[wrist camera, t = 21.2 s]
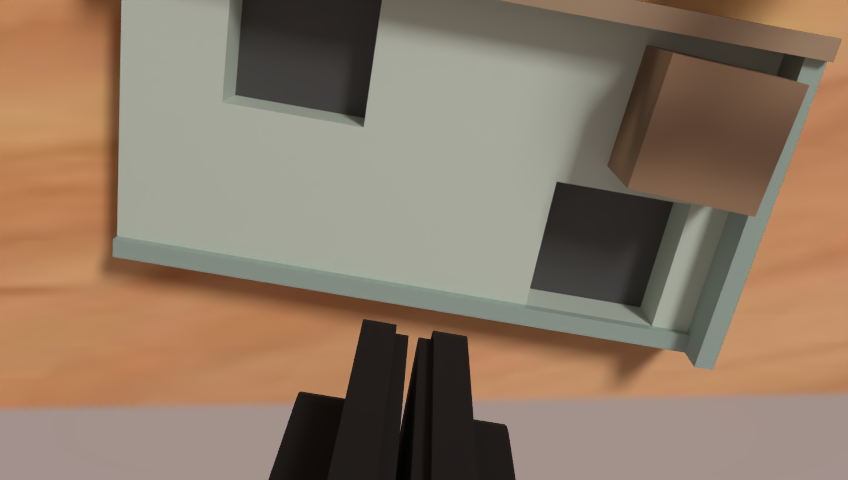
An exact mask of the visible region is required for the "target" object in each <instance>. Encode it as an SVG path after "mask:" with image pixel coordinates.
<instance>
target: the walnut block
mask: <svg viewBox="0 0 848 480" xmlns="http://www.w3.org/2000/svg"><path fill="white" fill-rule="evenodd" d="M808 88H809V85H807V84H803V83H800V82H797V81H793V80H790V79H786V78H783V77H779V76H776V75H772V74H769V73H765V72H761V71H756V70H752V69H748V68H744V67H739V66H735V65H731V64H727V63H722V62H718V61H714V60H710V59H705V58H701V57H697V56H693V55H688V54H684V53H680V52H676V51H671V50H667V49H663V48H659V47H654V46H650V45H646V48H645V51H644V54H643V57H642V60H641V63H640V66H639V69H638V73H637V76H636V79H635V82H634V85H633V88H632V91H631V94H630V97H629V100H628V103H627V107H626V110H625V113H624V116H623V119H622V122H621V125H620V128H619V131H618V134H617V137H616V141H615V144H614V147H613V150H612V153H611V156H610V159H609V162H608V165H607V166H608V167H609V168H610V170H611V171H612V172H613V173H614V174H615V175H616V176H617V177H618V179H619V180H620V181H621V182H622V183H623V184H624V185H625V186H626V188H627V189H631V190H636V191H640V192H645V193H649V194H654V195H658V196H663V197H667V198H672V199H676V200H681V201H685V202H690V203H694V204H699V205H703V206H708V207H712V208H717V209H721V210H726V211H730V212H735V213H739V214H744V215H748V216H753V217H755V216H756V214H757V211H758V209H759V207H760V204H761V202H762V199H763V197H764V194H765V192H766V190H767V187H768V185H769V182H770V180H771V177H772V175H773V173H774V170H775V168H776V165H777V163H778V161H779V158H780V156H781V153H782V151H783V148H784V146H785V144H786V141H787V139H788V136H789V134H790V131H791V129H792V127H793V124H794V122H795V119H796V117H797V114H798V112H799V110H800V107H801V105H802V102H803V100H804V97H805V95H806V93H807V90H808Z"/></svg>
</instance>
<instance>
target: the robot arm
mask: <svg viewBox="0 0 848 480" xmlns="http://www.w3.org/2000/svg"><path fill="white" fill-rule="evenodd" d="M396 326H397V325H395V324H389V323H383V322H377V321H371V320H365V319H363V323H362V327H361V332H360V336H359V341H358V345H357V349H356V354H355V358H354V363H353V367H352V372H351V376H350V380H349V385H348V389H347V394H346V398H345V399H343V398H337V397H331V396H325V395H319V394H312V393H306V392H299V393H298V396H297V398H296V401H295V404H294V407H293V410H292V413H291V416H290V419H289V421H288V425H287V428H286V430H285V433H284V436H283V439H282V442H281V445H280V448H279V451H278V454H277V457H276V460H275V462H274V465H273V468H272V471H271V474H270V477H269V480H515V473H514V466H513V460H512V453H511V446H510V440H509V433H508V429H507V426H506V425H505V424H499V423H493V422H486V421H479V420H474V419H473V407H472V394H471V380H470V367H469V354H468V340H467V336H462V335H456V334H450V333H444V332H438V331H433V333H432V336H431V339H425V338H419V339H418V342H417V347H416V352H415V357H414V363H413V368H412V373H411V378H410V383H409V388H408V394H407V399H406V404H405V409H404V414H403V419H402V425H401V414H402V403H403V391H404V380H405V369H406V358H407V347H408V336H407V335H401V334H396ZM400 425H401V430H400Z"/></svg>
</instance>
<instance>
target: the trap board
mask: <svg viewBox="0 0 848 480" xmlns="http://www.w3.org/2000/svg"><path fill="white" fill-rule="evenodd" d="M841 40H842V39H839V38H834V37H829V36H823V35H818V34H813V33H807V32H802V31H797V30H791V29H786V28H781V27H775V26H770V25H765V24H759V23H754V22H749V21H743V20H738V19H733V18H727V17H722V16H717V15H711V14H706V13H701V12H695V11H690V10H685V9H679V8H674V7H669V6H663V5H658V4H653V3H647V2H642V1H637V0H122V1H121V54H120V107H119V160H118V212H117V236H116V237H115V238H114V239H113V257H116V258H122V259H128V260H134V261H140V262H146V263H152V264H158V265H164V266H170V267H176V268H182V269H188V270H194V271H200V272H206V273H212V274H218V275H224V276H230V277H236V278H242V279H248V280H254V281H260V282H266V283H272V284H278V285H284V286H290V287H296V288H302V289H308V290H314V291H320V292H326V293H332V294H338V295H344V296H350V297H356V298H362V299H368V300H374V301H380V302H386V303H392V304H398V305H404V306H410V307H416V308H422V309H428V310H434V311H440V312H446V313H452V314H458V315H464V316H470V317H476V318H482V319H488V320H494V321H500V322H506V323H511V324H517V325H523V326H529V327H535V328H541V329H547V330H553V331H559V332H565V333H571V334H577V335H583V336H589V337H595V338H601V339H607V340H613V341H619V342H625V343H631V344H637V345H643V346H649V347H655V348H661V349H667V350H673V351H679V352H685V353H686V355H687V356H688V358H689V359H690V361H691V363H692V364H693V366H694V367H698V368H704V369H710V370H713V368H714V365H715V363H716V360H717V357H718V355H719V352H720V349H721V347H722V344H723V341H724V338H725V336H726V333H727V330H728V328H729V325H730V322H731V320H732V317H733V314H734V312H735V309H736V306H737V303H738V301H739V298H740V295H741V293H742V290H743V287H744V285H745V282H746V279H747V276H748V274H749V271H750V268H751V266H752V263H753V260H754V258H755V255H756V252H757V249H758V247H759V244H760V241H761V239H762V236H763V233H764V231H765V228H766V225H767V222H768V220H769V217H770V214H771V212H772V209H773V206H774V204H775V201H776V198H777V195H778V193H779V190H780V187H781V185H782V182H783V179H784V177H785V174H786V171H787V169H788V166H789V163H790V160H791V158H792V155H793V152H794V150H795V147H796V144H797V142H798V139H799V136H800V133H801V131H802V128H803V125H804V123H805V120H806V117H807V115H808V112H809V109H810V106H811V104H812V101H813V98H814V96H815V93H816V90H817V88H818V85H819V82H820V79H821V77H822V74H823V71H824V69H825V66H826V63H827V61H828V62H834V59H835V56H836V54H837V51H838V48H839V46H840V43H841ZM646 45H650V46H654V47H659V48H663V49H667V50H671V51H676V52H680V53H684V54H688V55H693V56H697V57H701V58H705V59H710V60H714V61H718V62H722V63H727V64H731V65H735V66H739V67H744V68H748V69H752V70H756V71H761V72H765V73H769V74H772V75H776V76H779V77H783V78H786V79H790V80H793V81H797V82H800V83H803V84H807V85H809V88H808V90H807V93H806V95H805V97H804V100H803V102H802V105H801V107H800V110H799V112H798V114H797V117H796V119H795V122H794V124H793V127H792V129H791V131H790V134H789V136H788V139H787V141H786V144H785V146H784V148H783V151H782V153H781V156H780V158H779V161H778V163H777V165H776V168H775V170H774V173H773V175H772V177H771V180H770V182H769V185H768V187H767V190H766V192H765V194H764V197H763V199H762V202H761V204H760V207H759V209H758V211H757V214H756V216H755V217H753V216H748V215H744V214H739V213H735V212H730V211H726V210H721V209H717V208H712V207H708V206H703V205H699V204H694V203H690V202H685V201H681V200H676V199H672V198H667V197H663V196H658V195H654V194H649V193H645V192H640V191H636V190H631V189H627V188H626V186H625V185H624V184H623V183H622V182H621V181H620V180H619V179H618V177H617V176H616V175H615V174H614V173H613V172H612V171H611V170H610V168H609V167H608V166H607V165H608V162H609V159H610V156H611V153H612V150H613V147H614V144H615V141H616V137H617V134H618V131H619V128H620V125H621V122H622V119H623V116H624V113H625V110H626V107H627V103H628V100H629V97H630V94H631V91H632V88H633V85H634V82H635V79H636V76H637V73H638V69H639V66H640V63H641V60H642V57H643V54H644V51H645V48H646Z"/></svg>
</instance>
